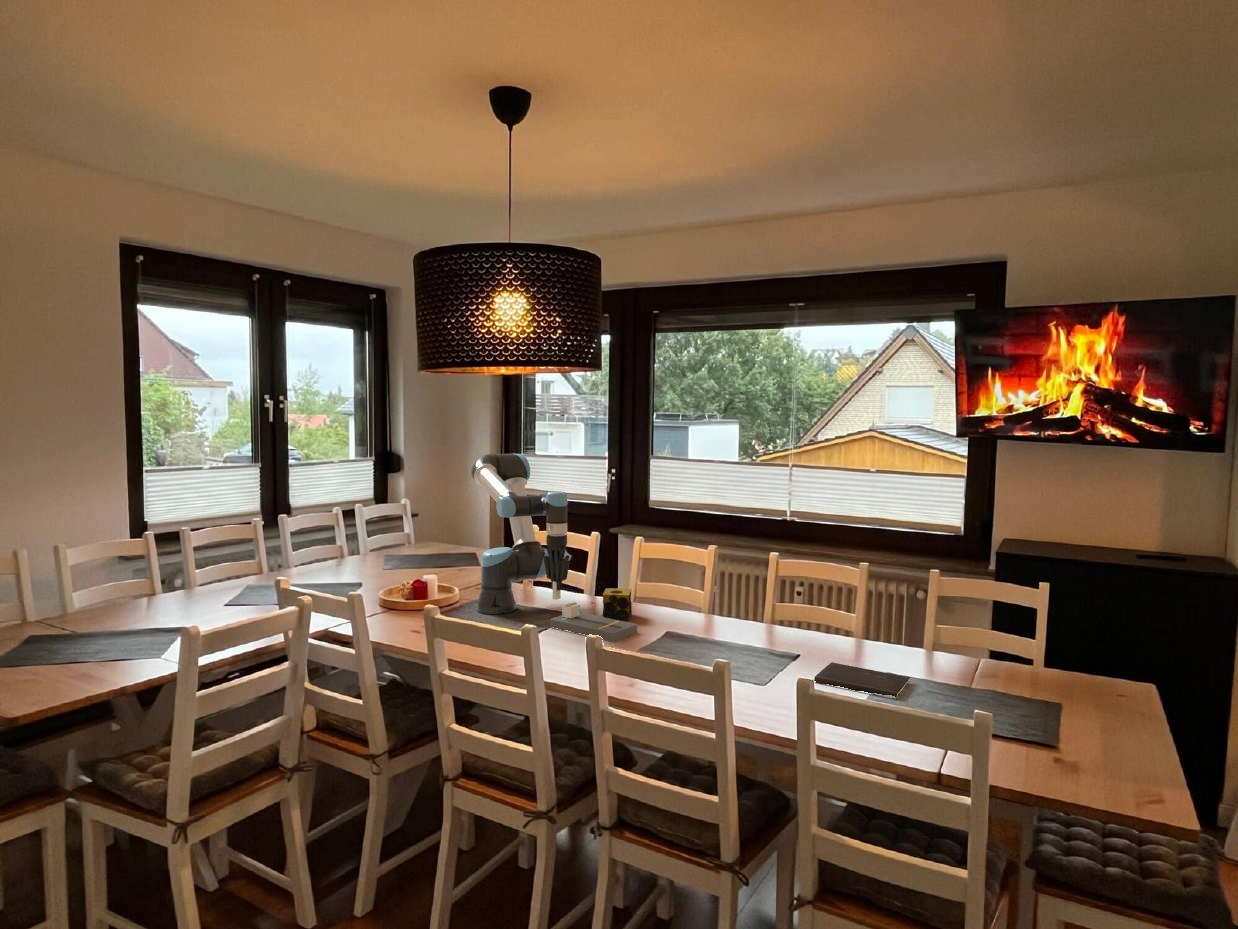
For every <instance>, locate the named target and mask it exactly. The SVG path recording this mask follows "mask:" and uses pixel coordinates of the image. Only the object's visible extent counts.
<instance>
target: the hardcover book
mask: <svg viewBox="0 0 1238 929" xmlns="http://www.w3.org/2000/svg"><path fill="white" fill-rule="evenodd" d="M910 678H911V677H909V676H905V675H901V674H894V673H889V672H886V671H885V672H884V671H879V670H873V669H868V668H863V667H859V666H852V665H848V664H843V663H842V664H841V663H838V662H832V661H831V662H829V664H827V665H826V666H825V667H824V668H823V669H822V670H820V671H819V672H818V673H817V674H816V675H815V676H814V680H813V682H814V681H816V683H815V684H818V683H819V684H818V685H823V684H829V685H833V686H840V687H844V688H848V689H851V690H855V691H854V692H856V691H864V692H868V693H877V694H882V695H892V696H895V697H897V694H898V693H899V692H900V691H901V689H902V688H903V687H904V685H905V684H906V683H907V682H908V683H909V680H910ZM851 690H850V691H851ZM897 698H898V697H897Z"/></svg>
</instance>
